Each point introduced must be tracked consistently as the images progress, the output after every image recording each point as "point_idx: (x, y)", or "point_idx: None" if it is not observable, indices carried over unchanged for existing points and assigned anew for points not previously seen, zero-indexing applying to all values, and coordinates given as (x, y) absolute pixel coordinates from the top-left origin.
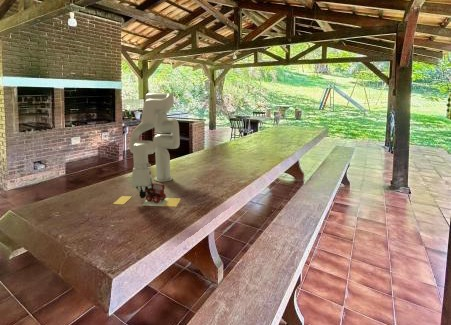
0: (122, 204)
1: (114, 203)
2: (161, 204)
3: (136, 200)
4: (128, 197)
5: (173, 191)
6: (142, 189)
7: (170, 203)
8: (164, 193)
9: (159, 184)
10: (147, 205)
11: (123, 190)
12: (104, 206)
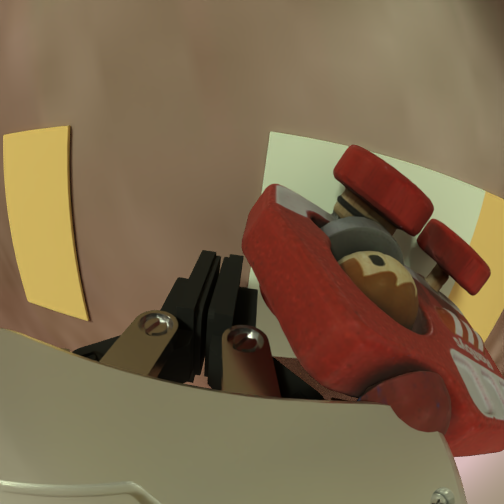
0: (81, 318)
1: (31, 296)
2: None
3: (145, 231)
4: (50, 162)
5: (491, 14)
6: (188, 345)
7: (466, 317)
8: (490, 274)
9: (498, 445)
10: (292, 356)
11: (4, 10)
12: (19, 323)
